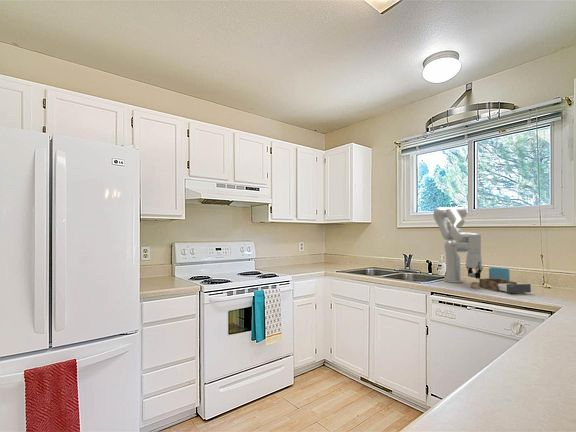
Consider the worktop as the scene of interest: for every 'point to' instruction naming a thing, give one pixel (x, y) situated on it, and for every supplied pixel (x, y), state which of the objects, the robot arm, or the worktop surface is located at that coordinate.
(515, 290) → the tray
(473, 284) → the stand
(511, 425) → the worktop surface
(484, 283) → the dock
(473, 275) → the disc
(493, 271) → the data package
